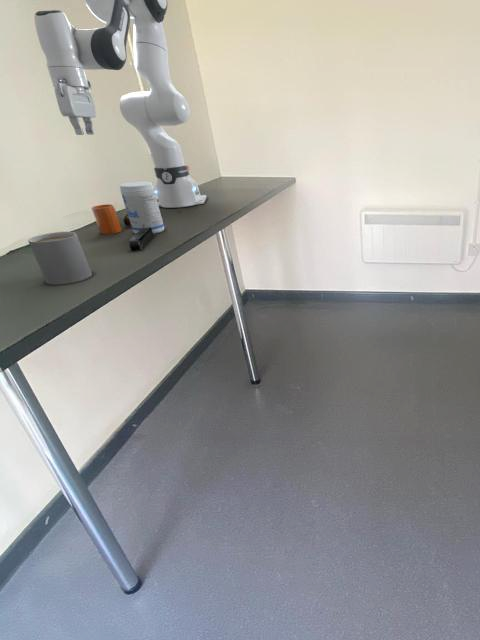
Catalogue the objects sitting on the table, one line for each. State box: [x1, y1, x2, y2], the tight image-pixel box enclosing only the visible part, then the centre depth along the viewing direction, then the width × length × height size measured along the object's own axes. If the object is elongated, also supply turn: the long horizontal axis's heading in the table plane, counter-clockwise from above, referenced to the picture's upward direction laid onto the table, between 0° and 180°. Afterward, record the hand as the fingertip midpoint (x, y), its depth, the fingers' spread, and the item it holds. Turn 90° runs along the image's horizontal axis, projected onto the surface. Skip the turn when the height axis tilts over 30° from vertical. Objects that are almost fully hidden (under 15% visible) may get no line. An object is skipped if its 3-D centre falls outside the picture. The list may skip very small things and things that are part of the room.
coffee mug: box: [28, 231, 93, 286], centre depth 118 cm, size 13×10×10 cm
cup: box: [91, 203, 123, 235], centre depth 158 cm, size 6×6×8 cm
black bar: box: [128, 227, 155, 252], centre depth 145 cm, size 18×3×3 cm, turn 12°
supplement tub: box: [119, 181, 165, 235], centre depth 154 cm, size 10×10×15 cm
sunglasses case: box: [123, 213, 132, 228], centre depth 171 cm, size 18×7×7 cm
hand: (85, 134), depth 146 cm, fingers open, 8 cm apart
